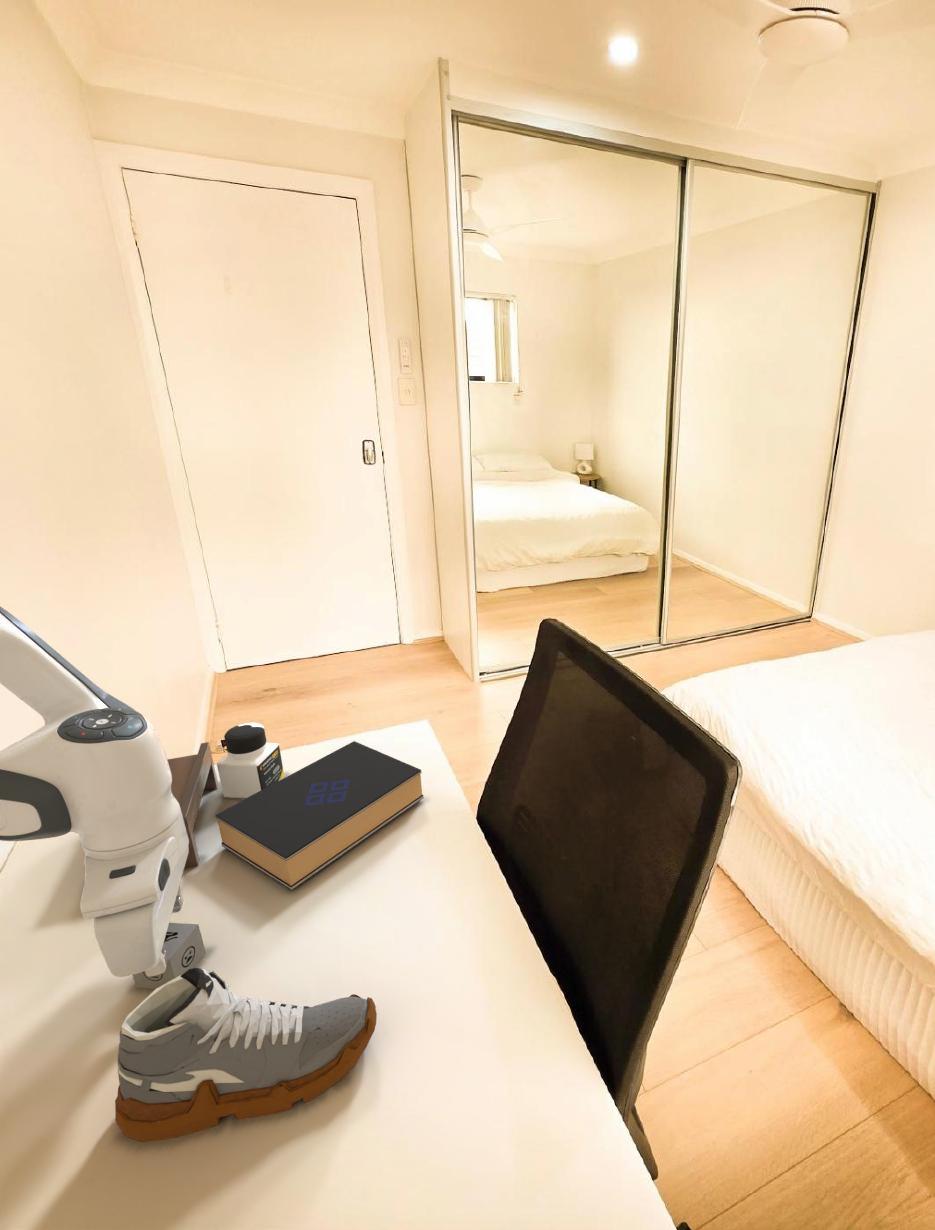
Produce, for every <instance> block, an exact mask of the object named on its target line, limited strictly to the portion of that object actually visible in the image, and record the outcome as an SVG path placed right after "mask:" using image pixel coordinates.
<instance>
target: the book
mask: <svg viewBox="0 0 935 1230" xmlns="http://www.w3.org/2000/svg"><path fill="white" fill-rule="evenodd" d="M422 772H423V771H422V769H420V768H418V767H416V766H414V765H411V764H410V763H406V762H404V761H402V760H399V759H397V758H395V757H392V756H390V755H388V754H385V753H383V752H381V751H379V750H377V749H374V748H372V747H369V746H366V745H364V744H362V743H360V742H358V741H356V740H353V741H351V742H350V743H347V744H346V745H344V746H342V747H340V748H338V749H336V750H334V751H332V752H331V753H329V754H327V755H325V756H323V757H321V758H320V759H318V760H315V761H314V762H312V763H310V764H308V765H306V766H304V767H302V768H300V769H298V770H296V771H294V772H292V773H291V774H289V775H286V776H284V777H283V778H282V779H281V780H280V781H278V782H276V783H274V784H272V785H270V786H268V787H266V788H265V789H263V790H261V791H259V792H257V793H255V794H253V795H251V796H250V797H248V798H243V799H241V800H240V801H238V802H236V803H234V804H232V805H230V806H228V807H227V808H225V809H222V810H221V811H219V812H217V813H215V815H214V817H215V819H216V820H217V823H218V828H219V833H220V837H221V847H223V848H224V849H226V850H227V851H229V852H231V853H232V854H234V855H235V856H237V857H239V858H240V859H242V860H243V861H245V862H247V863H248V864H250V865H251V866H252V867H255V869H257V870H259V871H260V872H262V873H264V874H265V875H266V876H268V877H270V878H271V879H272V880H273V879H274V880H275V881H276V882H278V883H279V884H281V885H283V887H286V888H287V889H288V890H290V891H293V890H294V889H296V888H297V887H298V886H300V885H302V884H303V883H305V882H306V881H307V880H308V879H310V878H311V877H313V876H314V875H316V874H318V873H319V872H320V871H321V870H323V869H324V868H326V867H327V866H329V865H330V864H332V863H333V862H335V861H336V860H337V859H339V858H340V857H341V856H343V855H345V854H346V853H347V852H349V851H350V850H351V849H353V848H355V847H356V846H357V845H359V844H360V843H361V842H363V841H364V840H366V839H367V838H369V837H370V836H372V835H373V834H375V833H376V832H377V831H379V830H380V829H381V828H383V827H384V826H386V825H387V824H389V823H390V822H391V821H393V820H394V819H395V818H397V817H399V816H400V815H402V814H404V812H406V811H407V810H409V809H410V808H411V807H413V806H415V805H416V804H418V802H420V801H422V800H423V799H425V798H424V794H423V788H422V776H421V774H422Z"/></svg>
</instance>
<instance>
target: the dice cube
mask: <svg viewBox="0 0 935 1230" xmlns="http://www.w3.org/2000/svg"><path fill="white" fill-rule="evenodd" d="M162 951H166V954H167V958H168V962H167V967H166V970H165V972H164V973H162V974H159V975H155V976H152V977H148V976H147V975H146V973H145V971H144V972H141V973H137V974H134V975H132V978H133V981H134V984H135V987H136V988H137V989H154V990H155V989H157V988H158V987H160V986H162V985H164V984H165V983H167V982H169V981H171V980H173V979H174V978H176V977H178V976H180V975H182V974H184V973H185V972H186V971H188V970H189V969H193V968H197V966H198V964H199V963H200V962H201V960H203V958H204V956H205V955H206V954H207V952H206V948H205V944H204V941H203V937H202V933H201V929H200V924H199V923H179V922H169V925H168V929H167V933H166V936H165V940H164V944H163V947H162ZM162 951H161V952H162Z"/></svg>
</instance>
